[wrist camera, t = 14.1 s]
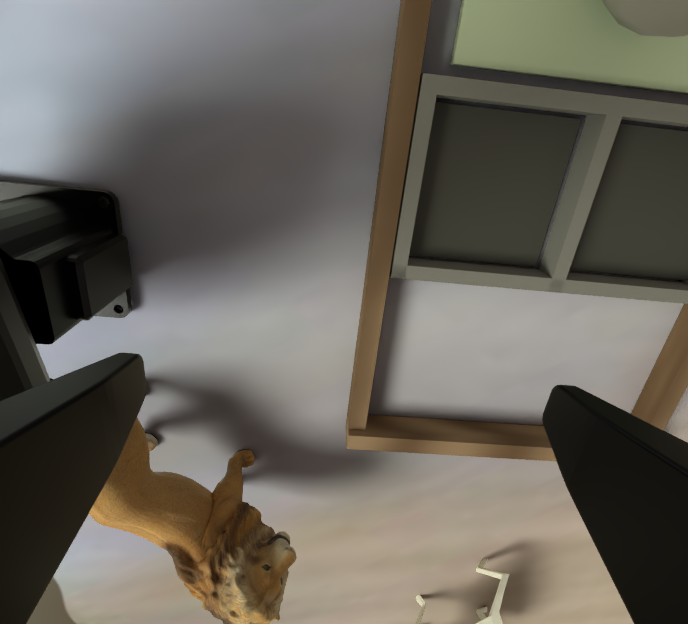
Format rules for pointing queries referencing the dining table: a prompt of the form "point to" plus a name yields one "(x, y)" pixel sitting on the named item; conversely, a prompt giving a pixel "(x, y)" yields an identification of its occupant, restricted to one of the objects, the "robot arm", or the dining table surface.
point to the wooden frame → (375, 430)
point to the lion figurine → (201, 532)
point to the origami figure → (494, 619)
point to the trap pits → (544, 192)
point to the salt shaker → (651, 16)
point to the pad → (567, 44)
